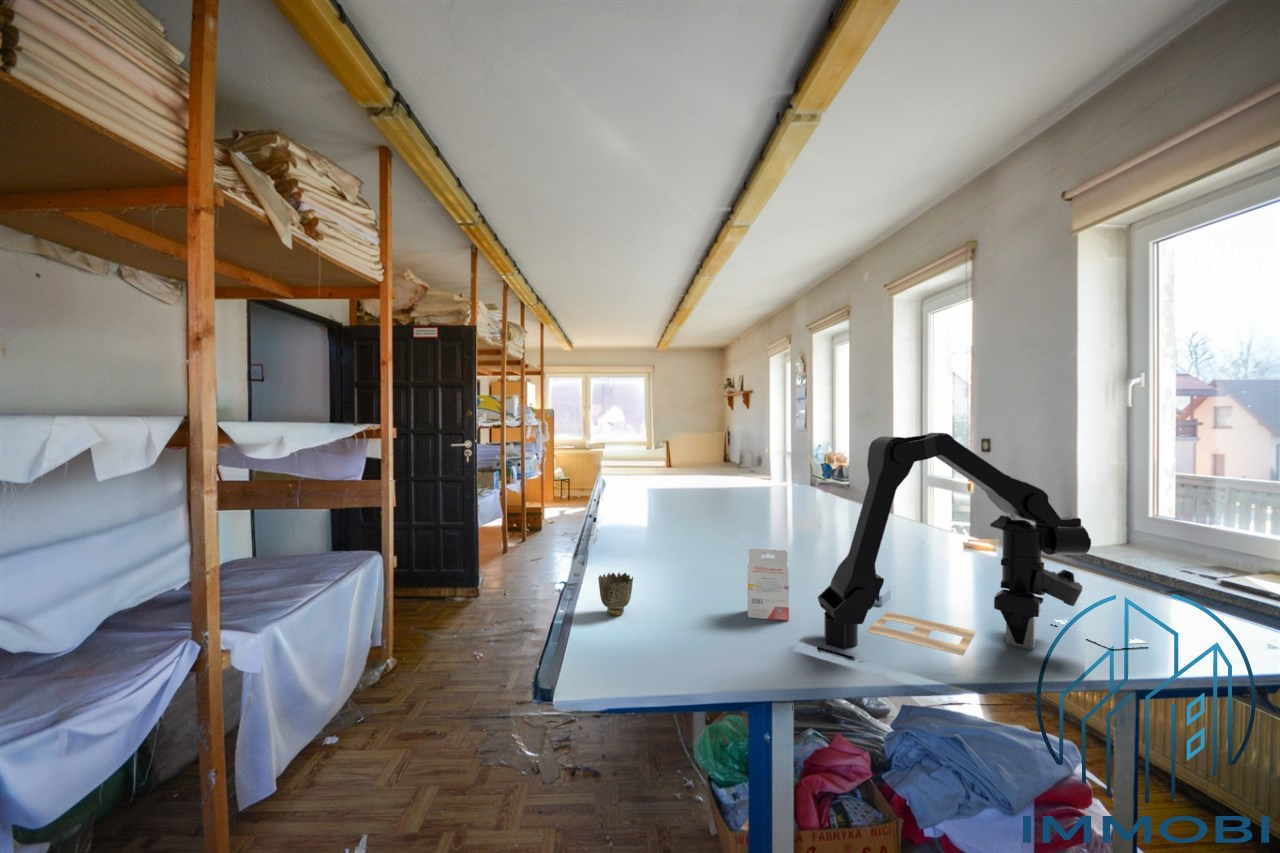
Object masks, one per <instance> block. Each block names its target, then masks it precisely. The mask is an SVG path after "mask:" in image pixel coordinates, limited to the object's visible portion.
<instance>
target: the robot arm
mask: <svg viewBox="0 0 1280 853" xmlns="http://www.w3.org/2000/svg"><path fill="white" fill-rule="evenodd" d="M867 454H868V455H867V464H866V465H867V466H866V467H867V472H868V473H867V476H868V485H867V488H866V492H865V495H864V498H863V502H862V506H861V509H860V512H859V516H858V520H857V523H856V527H855V531H854V534H853V538H852V540H851V545H850V548H849V551H848V554H847V556H846V557H845V558H844V559H843V560H842V561H841V563H839V565H838V566H837V569H836V571H835V573H834V575H833V576H832V578H831V581H830V585H829V586H828V587H826V588H825V589H824V590H823V591H822V593H820V594H819V595H818V596H817V600H818V603H819V606H820V608H821V609H823V610H824V611H825V612H824V615H823V617H824V619H823V620H824V626H823V627H824V628H823V633H824V634H823V636H824V637H823V638H824V639H823V640H824V642H825V646H831V647H834V648H836V649H841V650H845V649H852V648H853V649H854V648H856V647H857V646H858V644H859V643H858V641H859V631H858V630H859V625H863V624H864V622H865V620H866V616H867V615H868V611H870V610H871V609H873V607H874V606H875V605H874V603H875V600H877V601H879V593H880V590H881V588H883V586H884V583H885V582H884V581H885V579H884V578H883V576H881V575H879V574H877V572H876V570H877V569H876V562H877V559H878V554H879V552H880V548H881V544H882V541H883V537H884V534H885V530H886V527H887V524H888V520H889V516H890V514H891V509H892V505H893V503H894V498H895V495H896V491H897V489H898V488H899V486H900V485H901V484H902V483H903V482H904V480H905V479H906V478H907V477H908V476H909V474H910V472H911V470H912V468H913V467H914V465H915V462H920V461H925V460H930V459H932V458H937V459H939V461H941V462H943V463H944V464H946V465H947V466H948V467H950V468H951V469H953V470H955V471H956V472H957V473H958V474H960V475H962V476H963V477H965V478H966V479H968V480H969V481H970V482H971V483H973V484H975V485H976V486H978V487H979V488H980V489H982V490H983V491H984V493H985V494H986V495H987V497H988V498H989V501H991V503H993V504H994V505H995V506H996V507H997V508H998V510H1000V511H1001V512H1003V513H1004V514H1007V515H1011V516H1015V517H1019V518H1020V519H1011V517H1009V516H1006V515H1003V514H1002V515H999V517H998V518H997V519H995V520H993V522H991V523H990V528H994V529H997V530H1000V531H1002V557H1001V559H1000V566H1002V569H1001V570H1002V572H1001V576H1002V577H1001V578H1002V579H1001V581H1000V588H1001V590H1000V591H998V592H997V593H996V594H995V596H994V597H993V598H994V599H993V609H994V610H997V611H1000V614H1002V617H1003V619H1004V621H1005V624H1006V623H1007V625H1008V627H1009V630H1010V632H1011V634H1012V636H1013V638H1014V640H1015V642H1016V643H1017V644H1023V643H1024V639H1025V635H1026V631H1027V627H1028V623H1029V619H1030V618H1032V617H1036V618H1039V617H1040V613H1041V604H1043V601H1044V598H1043V597H1041V596H1043V595H1044V596H1045V594H1047V595H1049V596H1051V597H1053V598H1055V599H1056V600H1060V601H1062V602H1063V604H1065V605H1068V606H1071V607H1074V606H1075V605H1076V603H1077V601H1078V599H1079V598H1080V597H1081V596H1080V595H1081V593H1082V592H1083V585H1082V584H1081V583H1080V582H1076V580H1075V575H1074V573H1073V572H1071V571H1069V570H1067V569H1062V570H1060V571H1059V572H1057V573H1056V572H1055V571H1050V570H1047V569H1045V562H1044V561H1043V559H1042V552H1043V553H1044V554H1045V555H1051V556H1052V555H1053V556H1055V555H1056V556H1058V555H1059V556H1064V555H1065V556H1069V555H1070V556H1084V555H1086V554H1087V553H1088V552H1089V551H1090V549H1091V546H1092V539H1091V538H1090V535H1089V532H1088V530H1087V529H1086V527H1084V526H1083V525H1082V519H1081V518H1080V517H1075V516H1062V517H1060V515H1059V514H1058V513H1057V511H1055V508H1053V506H1052V504H1050V502H1049V497H1050V496H1049V495H1048V493H1047V492H1045V491H1044V489H1042V488H1040V487H1037V486H1036V485H1033V484H1031V483H1029V482H1027V481H1023V480H1021V479H1018V478H1015V477H1013V476H1010V475H1009V474H1007V473H1006V474H1005V473H1004V472H1003V471H1001V470H1000V469H998V468H996V467H995V466H993V465H992V464H991V463H989V462H988V461H986V460H984V459H983V458H982V457H980V456H979V455H978V454H976V453H974V452H973V451H972V450H971V449H969V448H967V447H966V446H964V445H963V444H961V443H960V442H959V441H958V440H955V438H954V437H953V436H952V435H950V434H948V433H947V432H929V433H927V434H922V435H915V436H908V437H907V436H906V437H901V436H888V435H887V436H879V437H877V438H875V439H874V440H872V441H871V442H870V445H869V447H868V453H867ZM1029 521H1031V522H1033V523H1035V524H1031V523H1030V522H1029ZM1036 595H1037V596H1036ZM816 649H817V650H819V651H822V652H826V653H828V654H833V655H836V656H840V657H842V658H847V659H849V660H854V659H855V658H856V657H855V656H852V655H848V654H844V653H841V652H837V651H834V650H831V649H827V648H824V647H821V646H820V647H819V646H816Z"/></svg>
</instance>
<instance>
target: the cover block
mask: <svg viewBox="0 0 1280 853" xmlns="http://www.w3.org/2000/svg"><path fill="white" fill-rule="evenodd" d="M890 600H891V589H889V588H885V587H882V588H881V590H880V593H879V601H877V600H875V603H874V605H873V606H879V607H884V606H885V605H886V604H887V603H888V602H889V601H890Z"/></svg>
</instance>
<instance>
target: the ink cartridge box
mask: <svg viewBox="0 0 1280 853" xmlns="http://www.w3.org/2000/svg"><path fill="white" fill-rule="evenodd" d="M767 554H769V555H771V556H774V557H762V555H767ZM788 554H789V553H788V551H787V550H786V549H771V548H770V549H769V548H753V547H751V548H749V549H748V561H747V617H748V618H749V619H750V618H752V619H762V620H763V619H764V620H774V621H786V622H787V621H789V619H790V605H789V604H790V597H789V596H790V589H789V588H790V585H789V584H790V582H789V581H790V579H789V578H790V573H789V572H790V570H789V568H790V566H789V562H788V558H789V555H788Z"/></svg>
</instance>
